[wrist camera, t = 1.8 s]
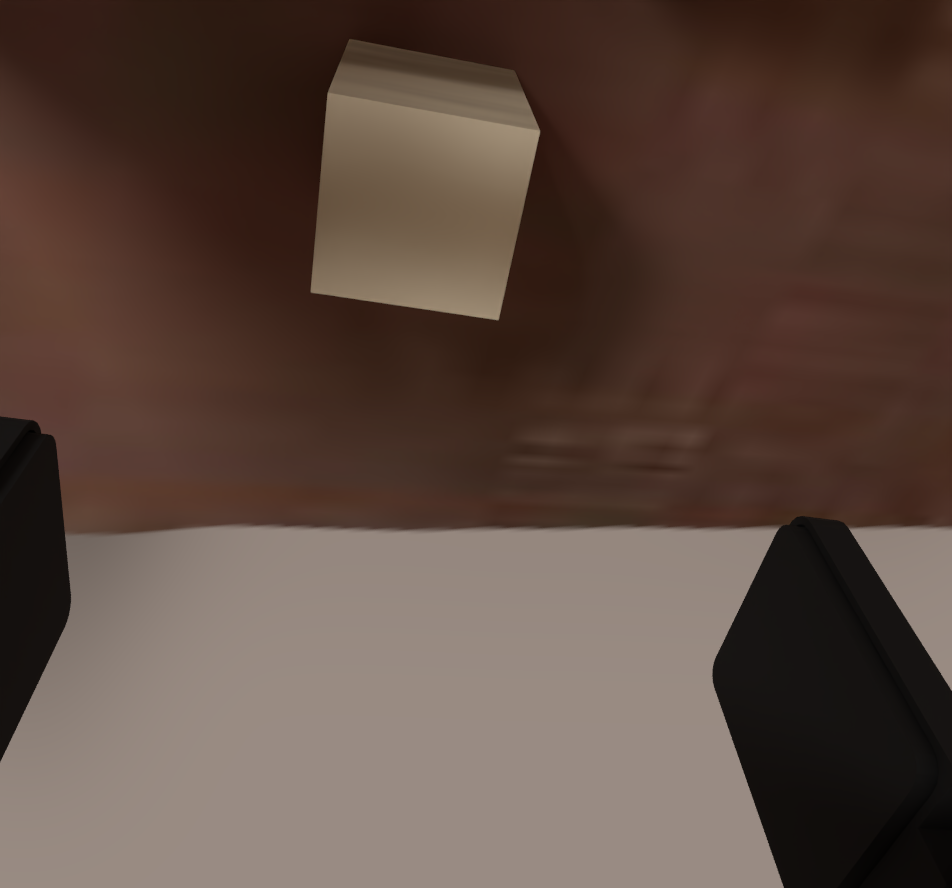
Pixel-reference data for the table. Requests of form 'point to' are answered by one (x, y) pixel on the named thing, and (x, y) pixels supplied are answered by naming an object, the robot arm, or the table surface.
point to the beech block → (421, 180)
